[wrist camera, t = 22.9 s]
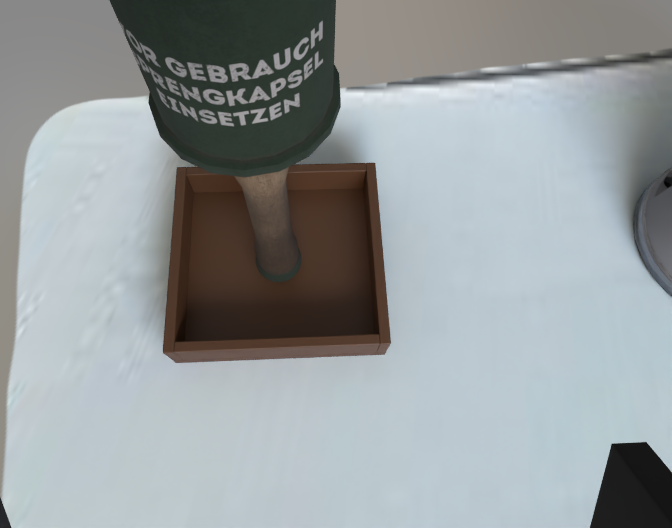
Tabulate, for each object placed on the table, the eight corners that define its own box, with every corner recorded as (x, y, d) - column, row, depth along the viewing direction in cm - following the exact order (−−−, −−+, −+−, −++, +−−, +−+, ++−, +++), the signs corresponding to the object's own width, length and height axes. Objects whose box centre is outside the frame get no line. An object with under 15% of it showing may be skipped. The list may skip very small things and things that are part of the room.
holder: (370, 185, 47) (375, 162, 44) (384, 354, 42) (390, 343, 38) (187, 189, 47) (176, 166, 43) (175, 362, 41) (162, 352, 37)
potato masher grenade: (212, 296, 42) (3, -42, 14) (250, 207, 45) (140, -214, 17) (311, 328, 41) (296, 36, 14) (343, 235, 44) (383, -158, 17)
